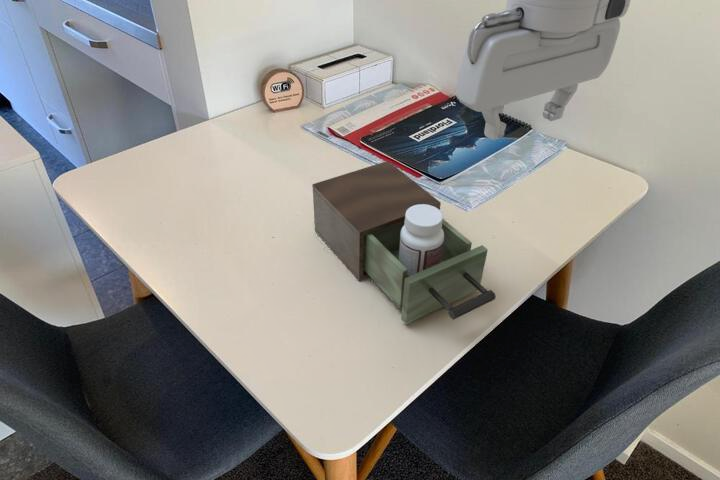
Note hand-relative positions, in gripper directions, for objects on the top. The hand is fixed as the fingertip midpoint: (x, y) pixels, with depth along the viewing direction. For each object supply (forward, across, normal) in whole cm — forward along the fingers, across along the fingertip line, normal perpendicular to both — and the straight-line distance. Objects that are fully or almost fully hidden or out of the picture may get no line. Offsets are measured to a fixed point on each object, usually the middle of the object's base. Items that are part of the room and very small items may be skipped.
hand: (523, 127), depth 61 cm
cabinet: (+27, -8, +19) cm, 34 cm away
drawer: (+26, -8, +4) cm, 28 cm away
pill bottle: (+25, -8, +6) cm, 27 cm away
